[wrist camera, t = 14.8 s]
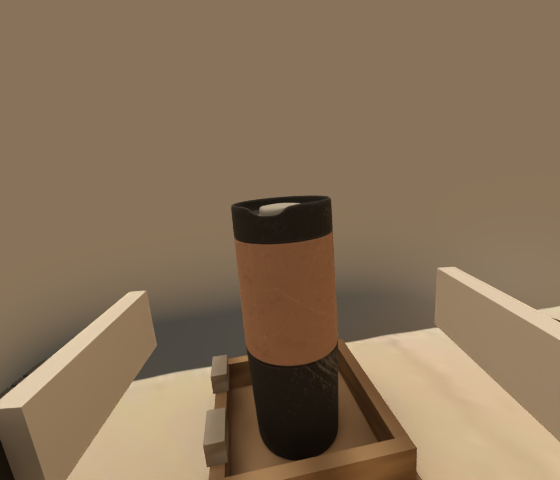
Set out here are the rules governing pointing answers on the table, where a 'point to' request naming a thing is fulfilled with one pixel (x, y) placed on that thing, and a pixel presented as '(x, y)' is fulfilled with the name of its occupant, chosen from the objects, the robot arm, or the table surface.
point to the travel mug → (290, 320)
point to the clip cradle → (317, 470)
